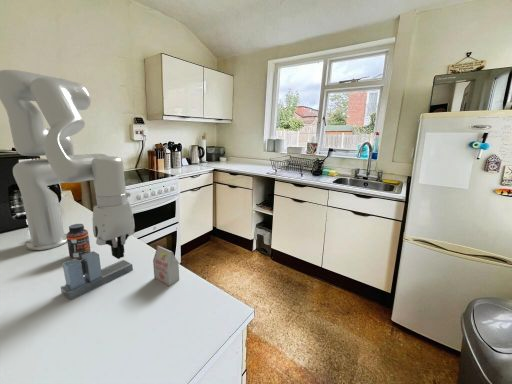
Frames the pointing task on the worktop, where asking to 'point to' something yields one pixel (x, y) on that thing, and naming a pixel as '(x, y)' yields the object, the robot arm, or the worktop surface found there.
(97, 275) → the block
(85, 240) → the supplement bottle
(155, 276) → the white drink carton
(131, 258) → the worktop surface
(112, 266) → the rail
